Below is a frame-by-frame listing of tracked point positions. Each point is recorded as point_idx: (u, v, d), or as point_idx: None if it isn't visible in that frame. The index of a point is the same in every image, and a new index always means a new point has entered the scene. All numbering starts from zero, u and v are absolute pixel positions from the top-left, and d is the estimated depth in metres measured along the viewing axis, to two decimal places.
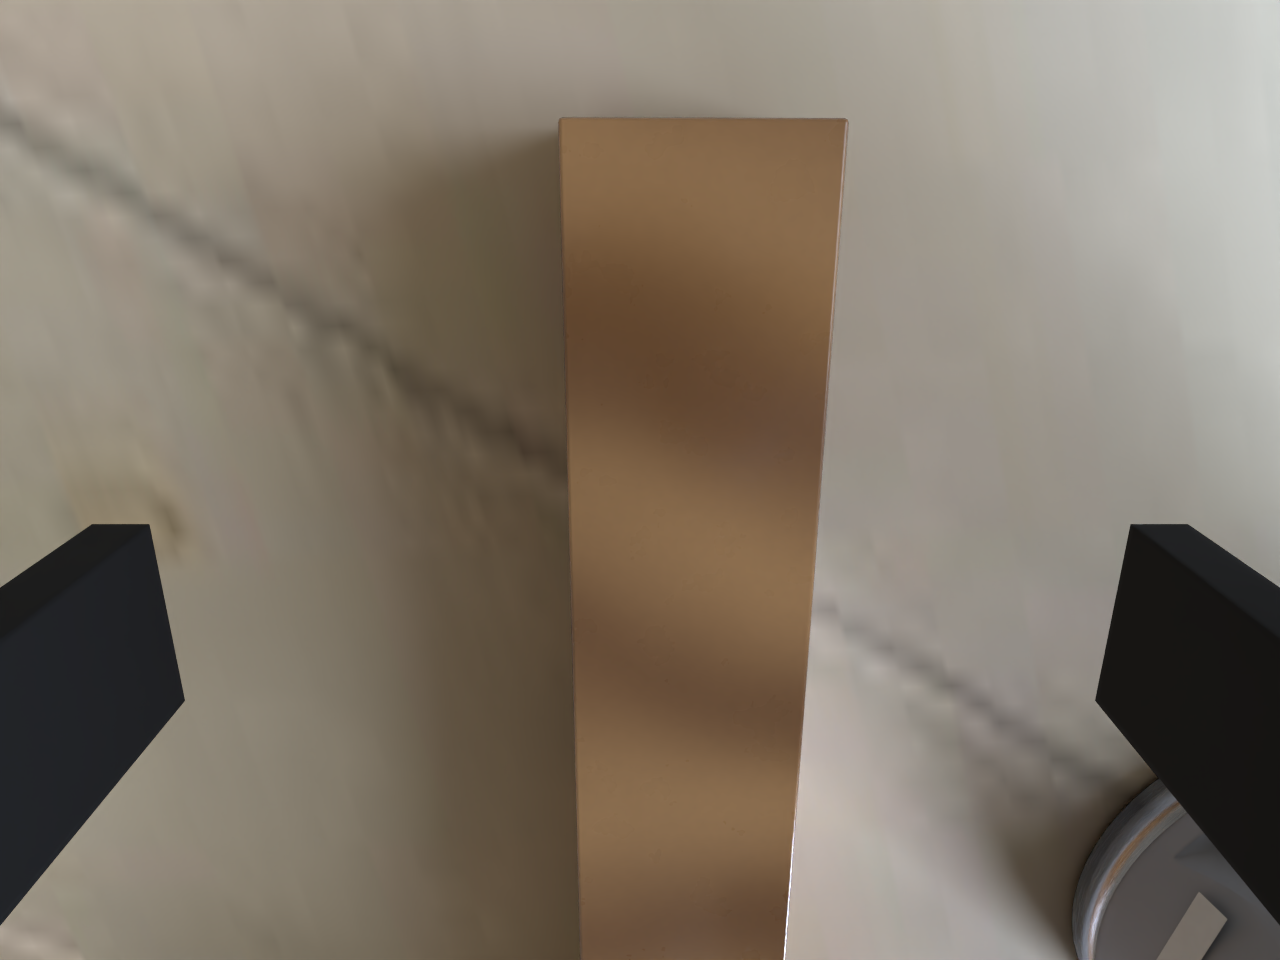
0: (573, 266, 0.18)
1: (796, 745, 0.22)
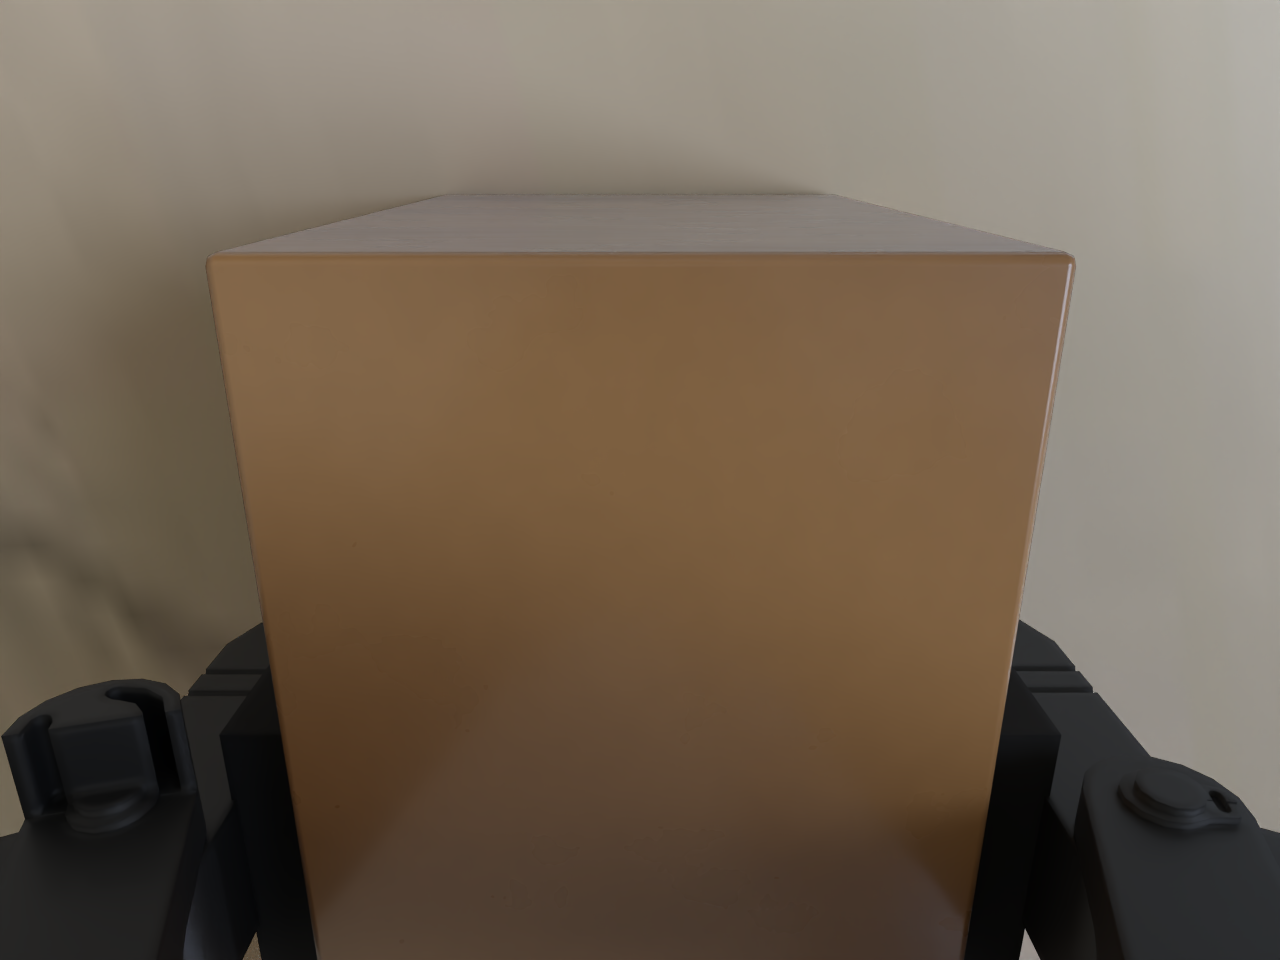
0: (291, 644, 0.07)
1: None
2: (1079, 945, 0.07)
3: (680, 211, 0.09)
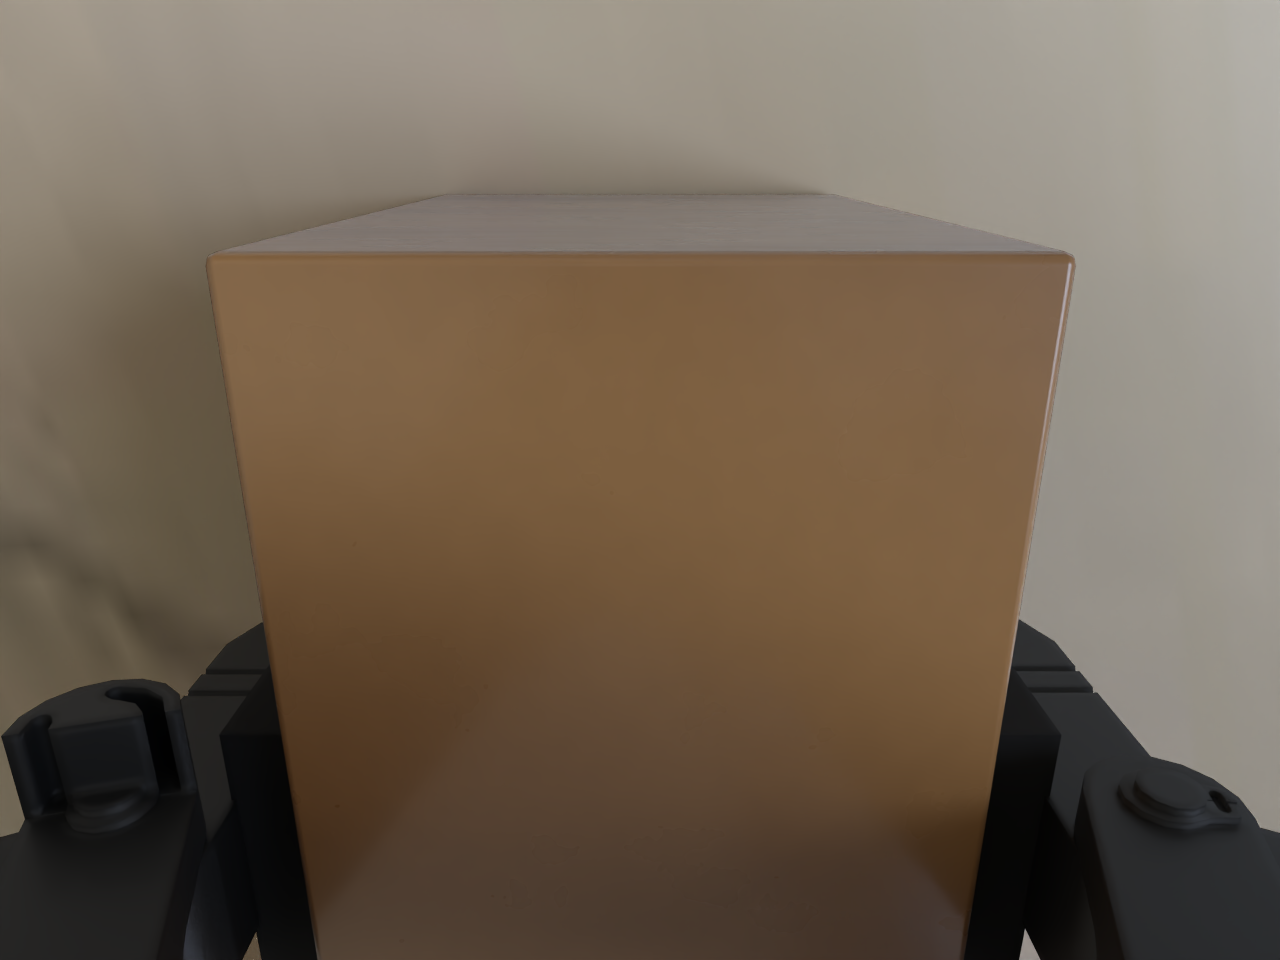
0: (292, 642, 0.07)
1: None
2: (1079, 945, 0.07)
3: (681, 211, 0.09)
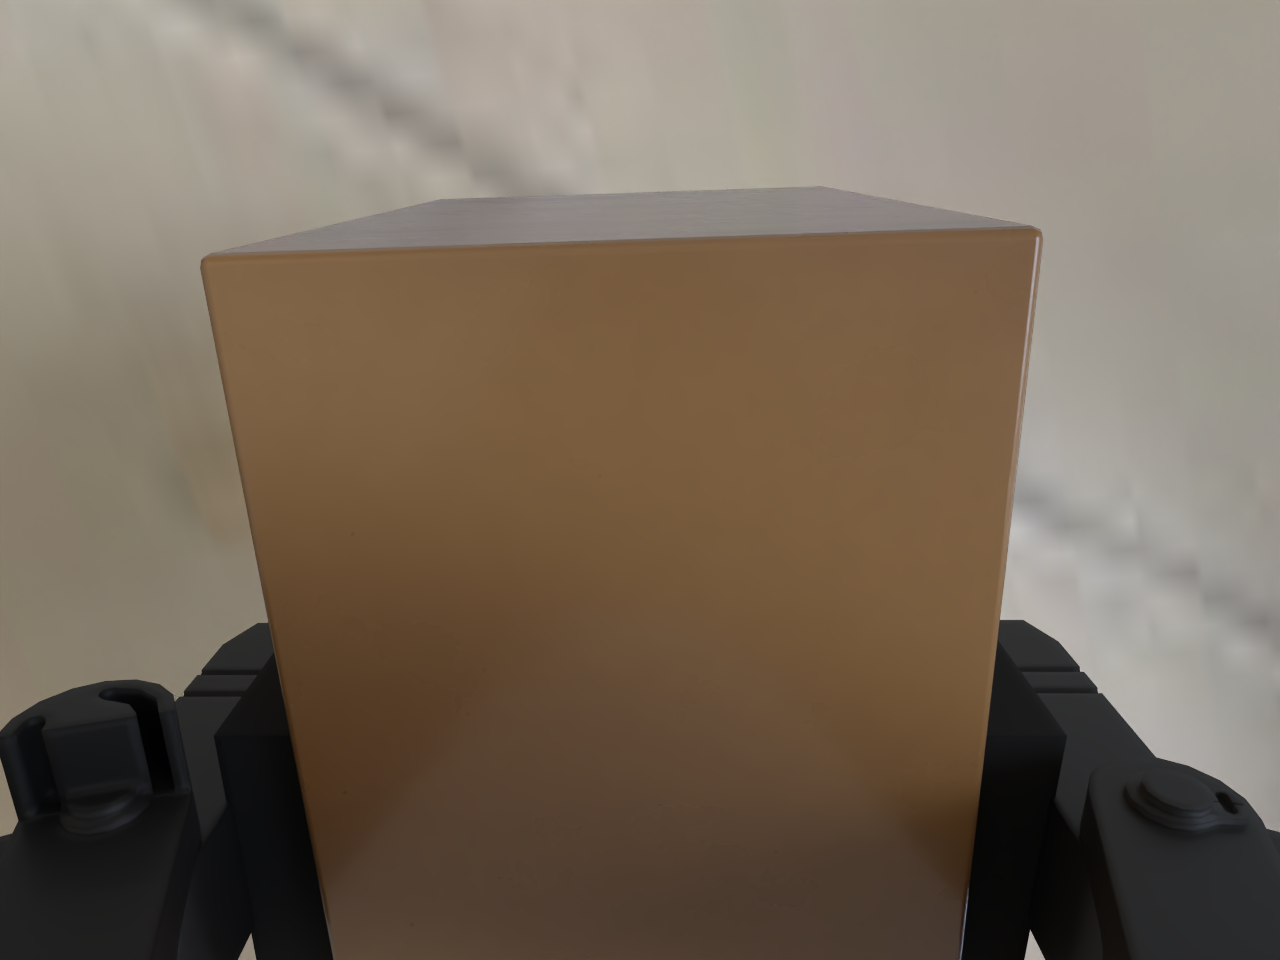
0: (295, 632, 0.07)
1: None
2: (1084, 946, 0.07)
3: (666, 205, 0.10)
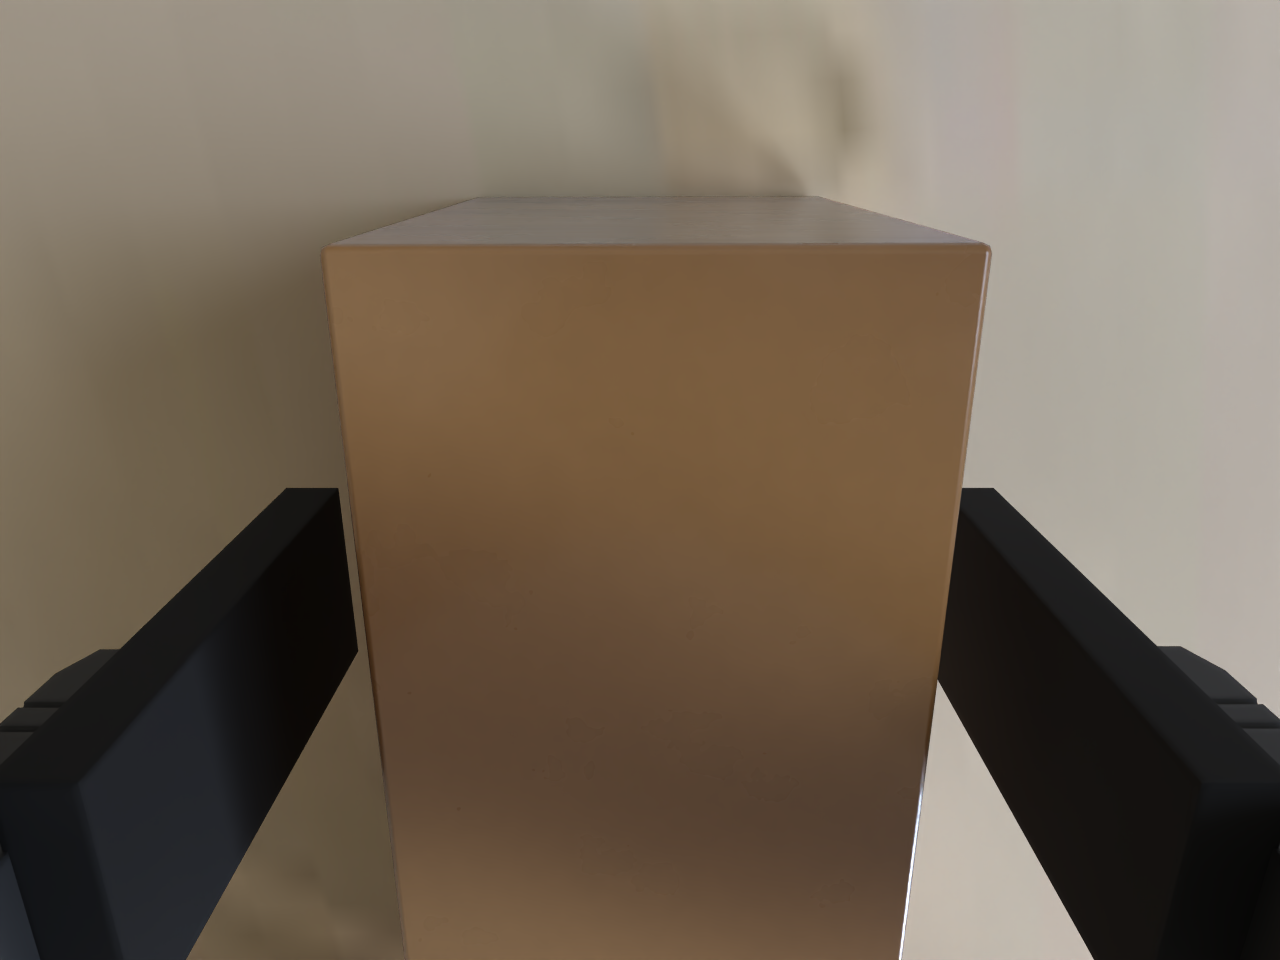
0: (378, 556, 0.08)
1: None
2: None
3: (685, 211, 0.11)
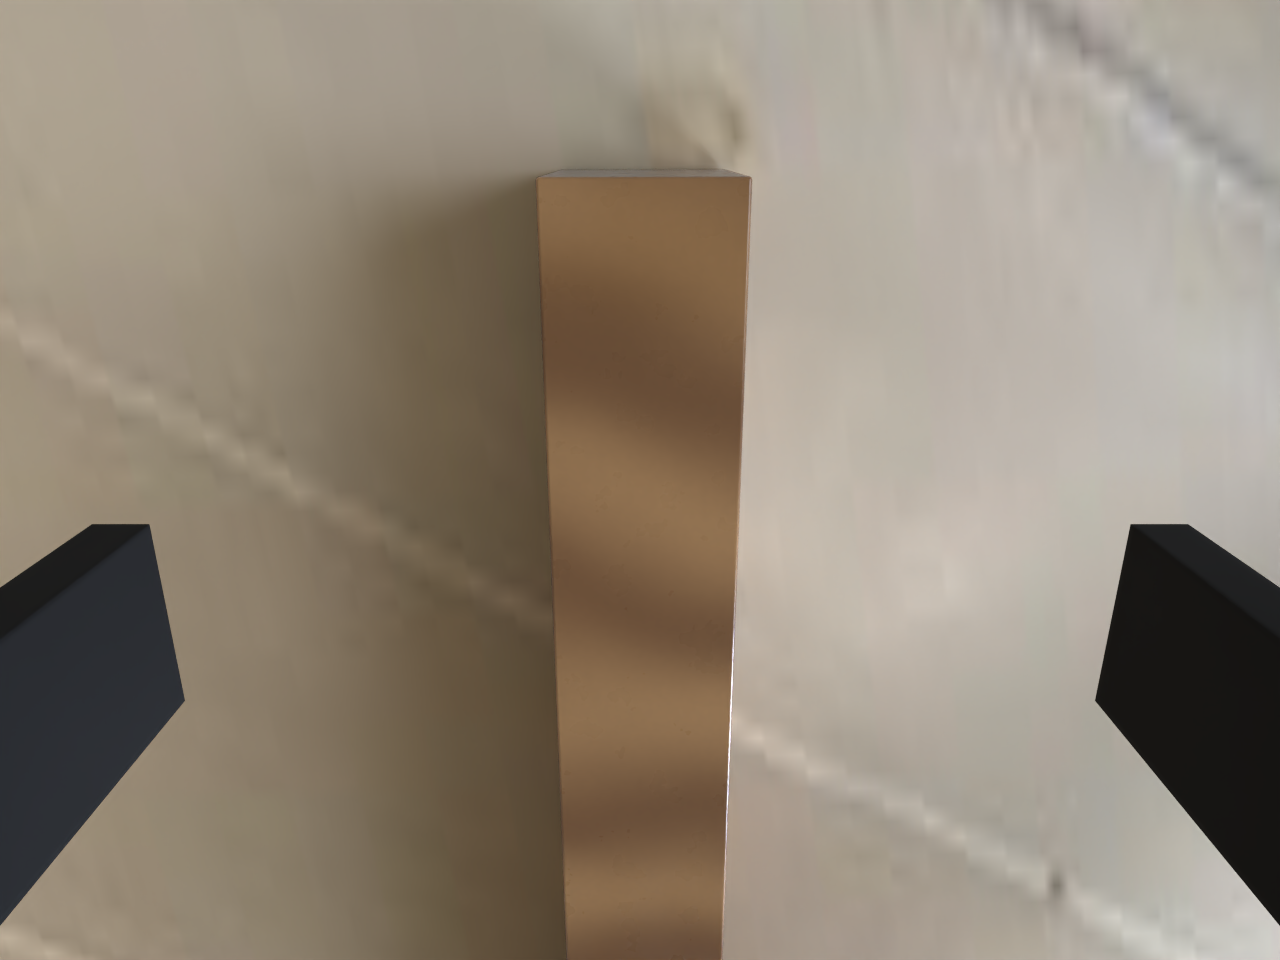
0: (548, 287, 0.24)
1: (729, 660, 0.28)
2: None
3: (657, 172, 0.27)
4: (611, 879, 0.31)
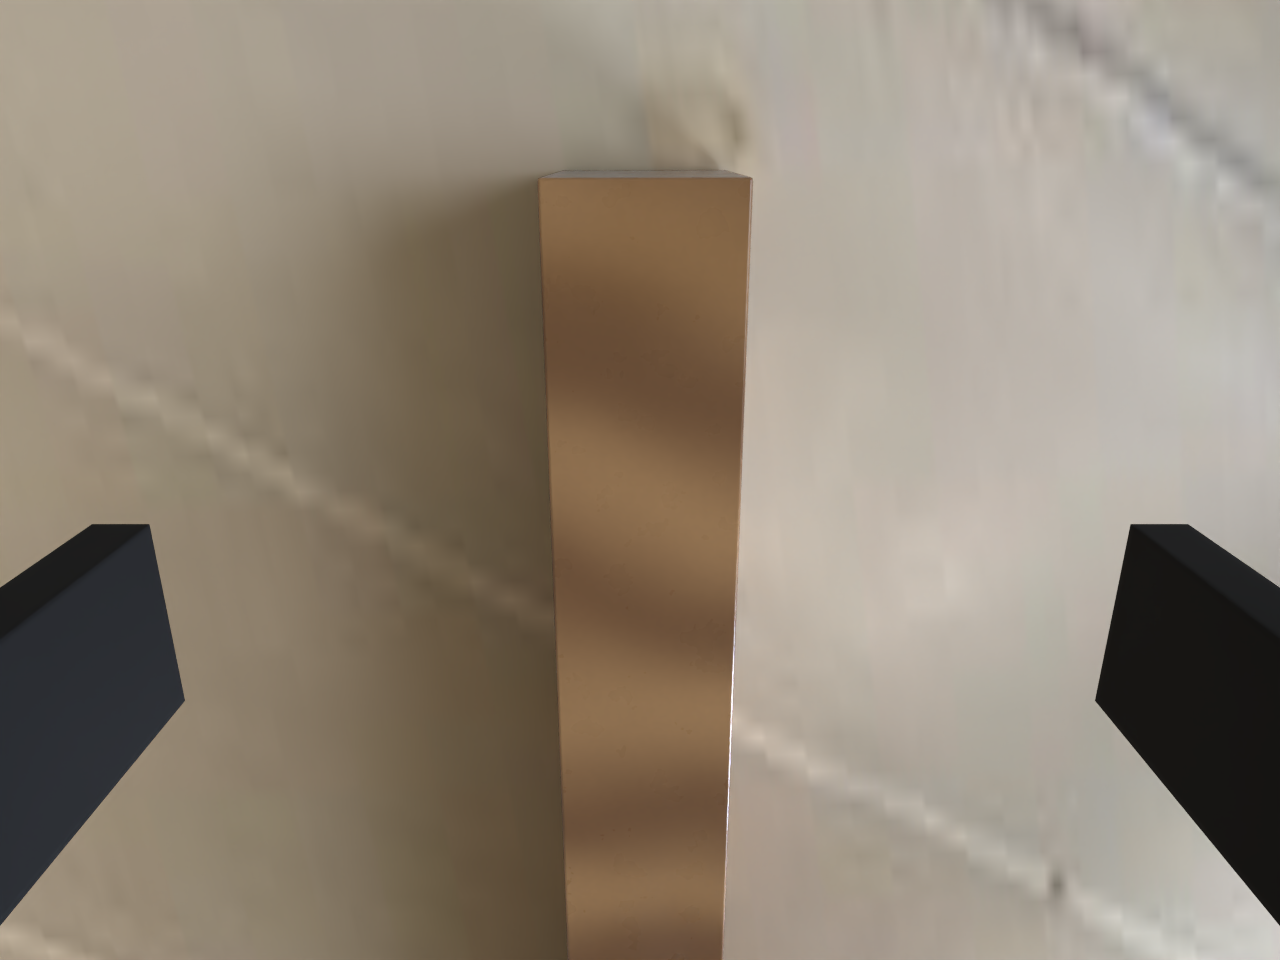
0: (549, 287, 0.24)
1: (730, 659, 0.28)
2: None
3: (658, 173, 0.27)
4: (612, 878, 0.31)
